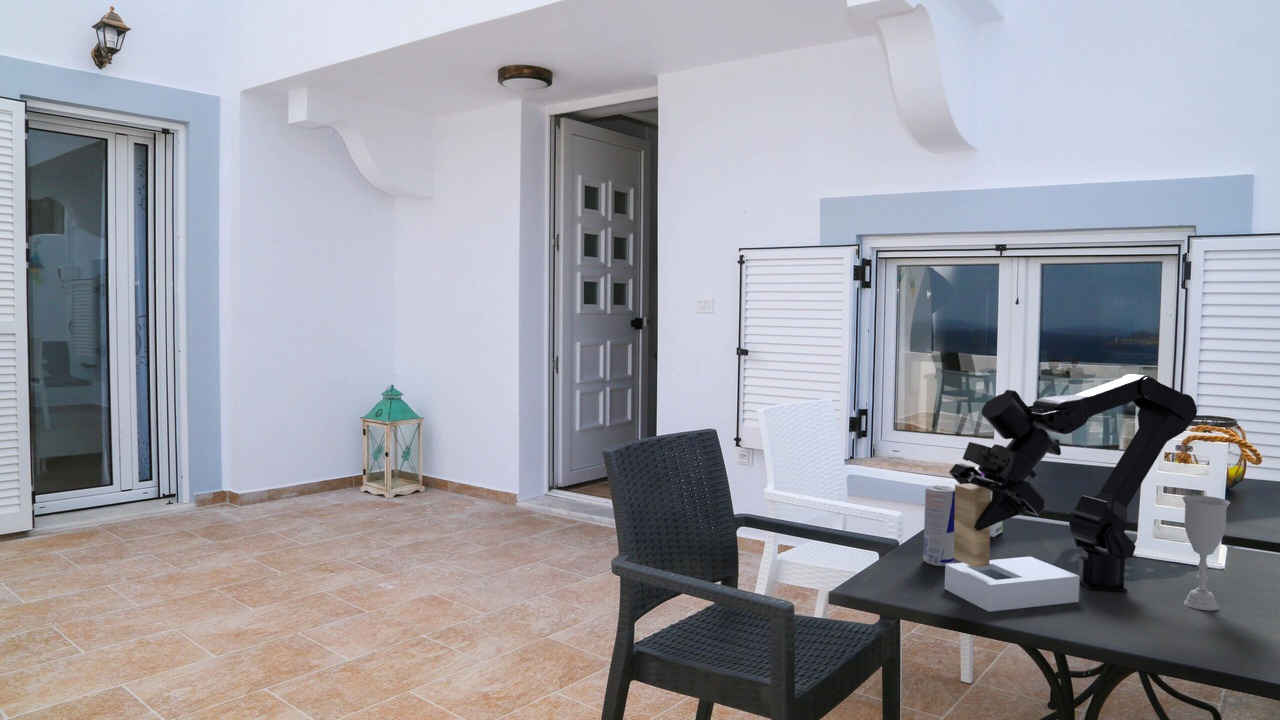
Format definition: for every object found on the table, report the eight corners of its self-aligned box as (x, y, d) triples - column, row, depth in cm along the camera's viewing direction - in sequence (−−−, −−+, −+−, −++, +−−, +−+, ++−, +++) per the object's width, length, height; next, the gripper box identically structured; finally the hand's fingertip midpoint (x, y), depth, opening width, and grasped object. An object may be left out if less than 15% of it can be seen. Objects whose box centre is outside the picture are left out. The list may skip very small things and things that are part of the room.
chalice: (1225, 615, 145) (1231, 506, 144) (1177, 607, 149) (1181, 501, 147) (1224, 602, 151) (1229, 498, 150) (1177, 595, 155) (1182, 493, 154)
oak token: (968, 556, 155) (969, 483, 154) (989, 565, 150) (990, 489, 149) (953, 558, 154) (955, 484, 153) (974, 567, 149) (975, 491, 148)
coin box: (1029, 580, 163) (1030, 556, 162) (1078, 601, 151) (1079, 575, 151) (944, 589, 158) (945, 564, 157) (988, 611, 146) (989, 585, 146)
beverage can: (955, 568, 170) (957, 491, 169) (925, 566, 171) (927, 489, 170) (951, 560, 176) (953, 485, 175) (921, 558, 177) (923, 483, 176)
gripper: (959, 418, 160) (905, 483, 158) (1031, 433, 142) (971, 506, 140) (995, 459, 163) (942, 523, 161) (1071, 478, 145) (1012, 551, 143)
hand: (965, 524), depth 151 cm, fingers closed on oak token, 5 cm apart
